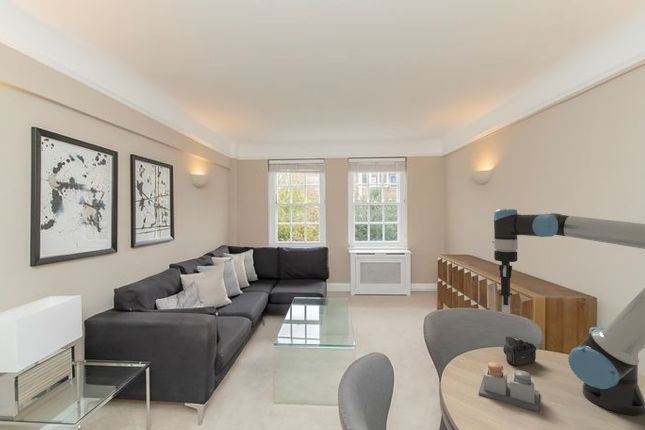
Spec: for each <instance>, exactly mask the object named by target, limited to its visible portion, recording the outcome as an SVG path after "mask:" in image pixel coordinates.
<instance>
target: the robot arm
mask: <svg viewBox="0 0 645 430" xmlns="http://www.w3.org/2000/svg"><path fill="white" fill-rule="evenodd" d="M493 225H494V226H493V233H494V237H493V238H494V239H493V241H492V243H493V245H494V246H493V247H494V251H493V254H494V255H493V257H494V260H495V261H497V262H501V264H499V267H498V268H499V269H498V270H499V273H500V274H499V278H500V287H501V289H500V293H499V296H501V313H502V314H508V315H510V314H511V296H513V292H512V293H511V278H512V271H513V265H511V263H515V262H517V261H518V236H526V237H527V236H530V237H540V238H548V237H549V238H552V237H554V236H561V237H569V238H573V239H574V238H575V239H581V240H587V241H593V242H599V243H607V244H612V245H619V246H626V247H630V248H631V247H632V248H636V249H641V250H645V223H642V222H641V223H640V222H631V221H621V220H613V219H612V220H610V219H604V218H603V219H601V218H595V217H594V218H593V217H587V216H586V217H585V216H574V215H566V214H560V213H555V212H554V213H553V212H551V213H544V214H543V213H540V214H520V213H518V210H517V209H514V208H509V209H506V208H505V209H504V208H502V209H501V208H500V209H496V210H495V211H494V216H493ZM588 331H589V332H588V335H587V336H586V337H585V339H584V340H583V341H582V342H581V343H580V344H578V346H576V347H573V348H572V349H571V351H570V352H569V354H568V357H567V358H568V364H569V368H570V369H571V371H572V373H573V374H574V375H575V376H576V377H577V378H578V379H579V380H580V381H581V382H583V384H582V394H583V395H584V397H585V398H586V399H587V400H588V401H590V402H592V403H593V404H595V405H597V406H598V407H601V408H603V409H605V410H608V411H610V412H611V411H612V412H614V413H619V414H623V415H627V416H639V415H643V414H645V398H644V396H643V393H642V391H641V388H640V386H639V383H638V379H639V378H638V377H639V375H638V373H639V372H638V369H639V368H638V367H639V366H638V365H639V363H640V359H639V356H638V355H639V353H641V351H642V350H643V349H644V348H645V287H644V288H643V289H642V290H641V291H640V292H639V293H638V294H637V295H636V296H635V297H634V298H633V299H632V300H631V301H630V302H629V303H628V304H627V305H626V306H625V307H624V308H623V309H622V310H621V311H620V312H619V313H618V314H617V316H615V318H613V320H611V322H609V323H608V324H607V325H606V326H605V327H602V326H592V327H590V328H589V330H588Z"/></svg>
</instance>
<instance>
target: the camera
mask: <svg viewBox="0 0 645 430" xmlns="http://www.w3.org/2000/svg"><path fill="white" fill-rule="evenodd" d="M502 351H503V353H504V354H505V356H506V357H505V358H506V359H505V360H506V362H507V363H509V364H510V365H512V366H515V367H516V366H522V365H527V364H532V363H535V361H536V360H537V359H536V358H537V357H536V356H537V355H536V351H537V347H536V346H535V345H534V344H533V343H531V342H529V341H528V340H524V339H522V338H520V337H516V336H506V337H505V344H504V346H503V350H502Z"/></svg>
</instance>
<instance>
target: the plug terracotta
mask: <svg viewBox="0 0 645 430" xmlns="http://www.w3.org/2000/svg"><path fill="white" fill-rule="evenodd" d="M487 367H488V368H489V375H491V376H495V377H499V378H502V371H504V365H502V364H501V363H498V362H494V361H489V362H488V363H487Z"/></svg>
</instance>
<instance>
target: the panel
mask: <svg viewBox="0 0 645 430" xmlns="http://www.w3.org/2000/svg"><path fill="white" fill-rule="evenodd" d="M509 382H510V383H509ZM509 382H508V371H505V370H502V378H499V377H495V376H491V375H489V368H488V366H485V369H484V372H483V378H482V381H481V384H480V386H479V390H478V396H482V397H486V398H489V399H492V400H495V401H498V402H503V403H506V404H509V405H513V406H516V407H519V408H523V409H527V410H531V411H534V412H536V413H540V396H539V395H540V392H539V390H536V389H535V378H534V377H531V379H530V385H527V384H523V383H519V382H515V376H514V372H513V373H511V374H510V381H509Z"/></svg>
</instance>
